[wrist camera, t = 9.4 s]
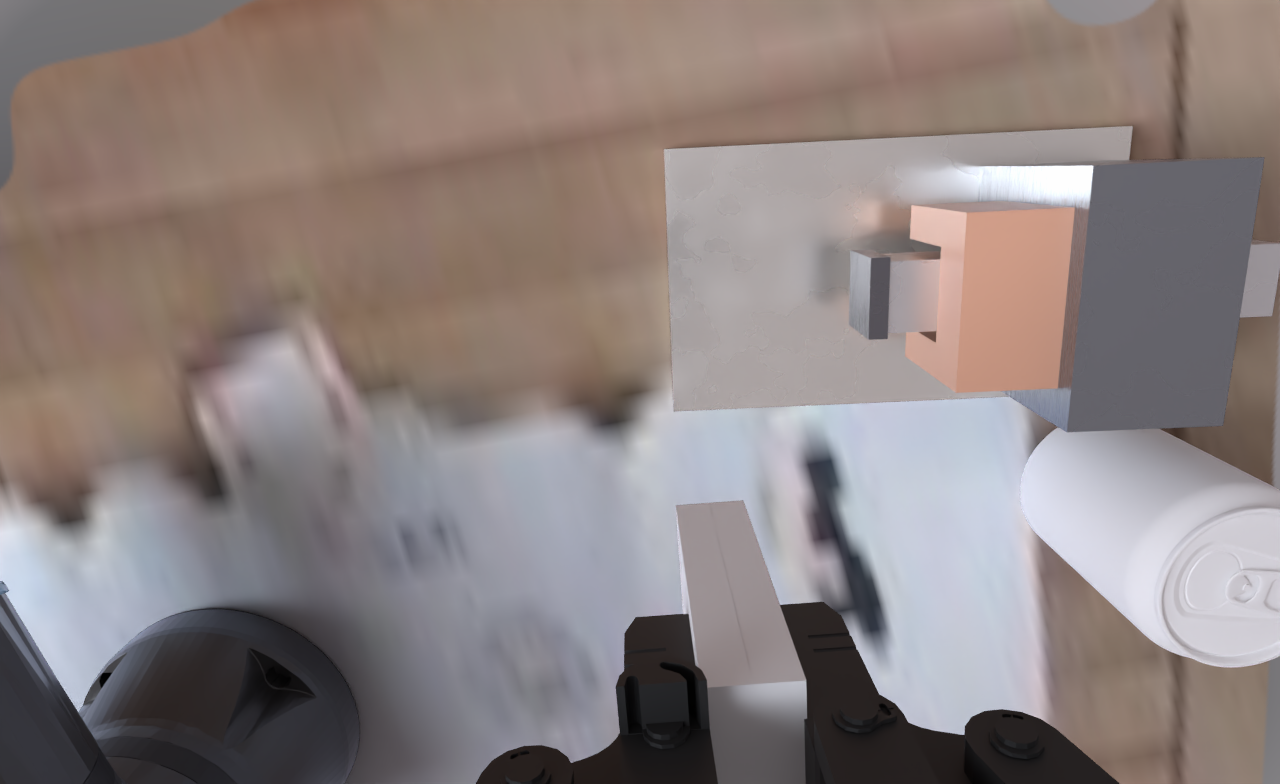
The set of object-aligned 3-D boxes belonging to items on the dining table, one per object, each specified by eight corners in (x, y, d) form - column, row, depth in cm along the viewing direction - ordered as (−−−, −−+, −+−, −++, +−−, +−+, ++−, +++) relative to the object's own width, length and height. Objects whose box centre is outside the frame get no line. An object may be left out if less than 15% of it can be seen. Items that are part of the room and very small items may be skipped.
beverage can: (1040, 396, 42) (1188, 480, 31) (1186, 422, 43) (1386, 515, 31) (995, 533, 45) (1117, 661, 33) (1135, 557, 45) (1304, 692, 33)
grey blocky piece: (673, 404, 43) (682, 484, 32) (663, 149, 39) (670, 142, 28) (1090, 386, 42) (1243, 461, 31) (1118, 127, 39) (1300, 110, 28)
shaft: (848, 324, 37) (868, 339, 34) (850, 250, 36) (870, 258, 33) (1218, 308, 37) (1274, 321, 33) (1229, 232, 36) (1288, 238, 32)
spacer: (905, 356, 38) (955, 393, 32) (911, 205, 36) (966, 212, 30) (989, 352, 38) (1057, 388, 32) (1000, 200, 36) (1074, 207, 30)
